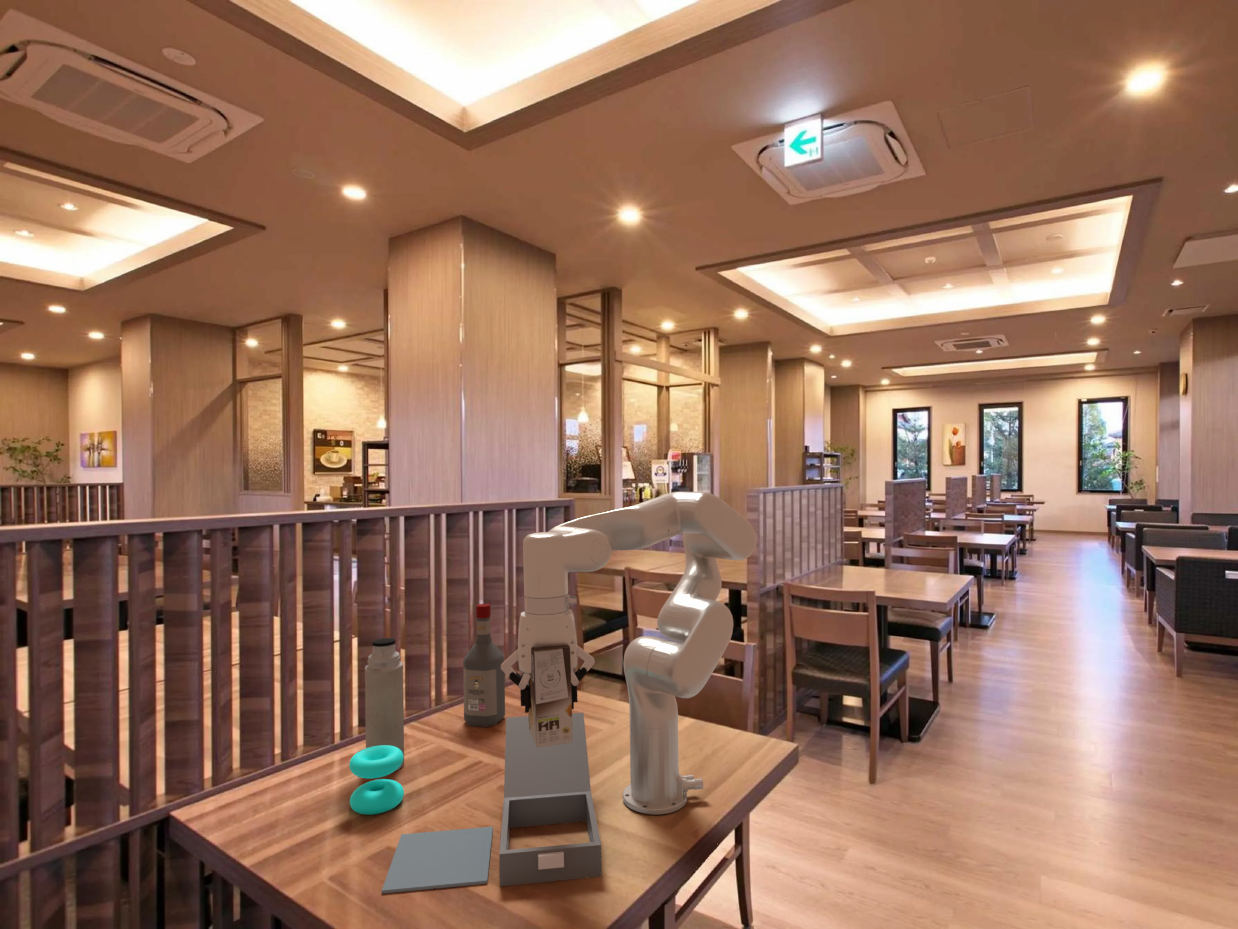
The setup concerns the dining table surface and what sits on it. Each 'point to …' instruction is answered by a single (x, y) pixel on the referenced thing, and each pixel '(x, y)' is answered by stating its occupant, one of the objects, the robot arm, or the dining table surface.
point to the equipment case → (549, 859)
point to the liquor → (483, 676)
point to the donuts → (376, 792)
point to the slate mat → (440, 860)
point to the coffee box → (550, 696)
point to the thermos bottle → (384, 696)
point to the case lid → (544, 761)
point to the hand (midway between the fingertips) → (549, 707)
